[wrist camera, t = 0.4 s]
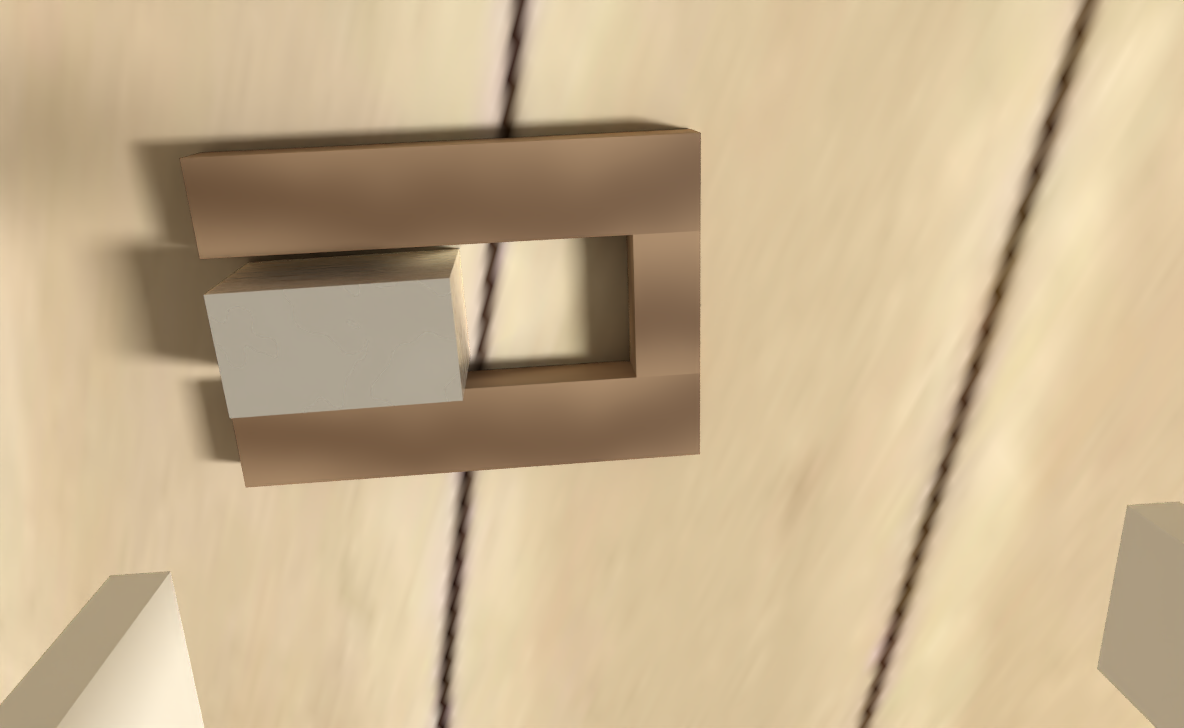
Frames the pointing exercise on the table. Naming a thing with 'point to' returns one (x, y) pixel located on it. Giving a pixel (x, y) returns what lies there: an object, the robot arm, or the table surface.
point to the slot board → (469, 216)
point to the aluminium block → (341, 333)
